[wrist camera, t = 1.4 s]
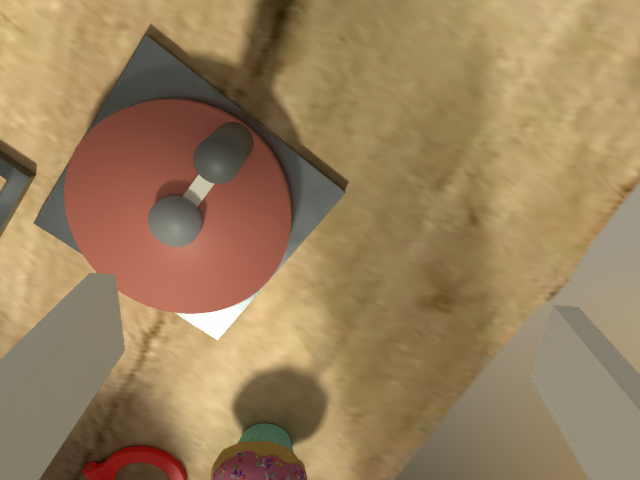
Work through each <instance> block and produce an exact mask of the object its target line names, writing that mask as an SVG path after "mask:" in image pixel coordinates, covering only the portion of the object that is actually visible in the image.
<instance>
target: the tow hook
mask: <svg viewBox="0 0 640 480" xmlns="http://www.w3.org/2000/svg"><path fill="white" fill-rule="evenodd" d="M138 462H142V463H149V464H152V465H155V466H157V467H159V468H161V469H162V470H163V471H164V472H165V473H166V474H167V476H168V477H169V480H186V474H185V470H184V469H183V467H182V465H181V464H180V462H179V461H177V460H176V459H175V458H174V457H173V456H172V455H170V454H168V453H166V452H164V451H162V450H159V449H156V448H153V447H144V446H135V447H128V448H124V449H121V450H118V451H117V452H115V453H113V454H112V455H110V457H109V458H108V459H107V460H106V461H105V462H103V463H99V464H97V463H96V462H95V461H93V462H90V463H88V464H87V465H86V466H85V467H84V468H83V471H82V472H83V474H84V475H85V476H86V478H87V479H88V480H114V479H115V478H116V475H117V472H118V470H119V469H120V468H122V467H123V466H125V465H127V464H131V463H138Z"/></svg>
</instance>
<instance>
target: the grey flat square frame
mask: <svg viewBox="0 0 640 480" xmlns="http://www.w3.org/2000/svg"><path fill="white" fill-rule="evenodd" d="M0 176H2V177H3V178H5V179H6V180H7V182H6V184H5V186H4V187H3V189H2V191H1V193H0V237H1V235H2V233H3V232H4V230H5V228H6V226H7V225H8V223H9V221H10V219H11V218H12V216H13V214H14V212H15V211H16V209H17V207H18V205H19V204H20V202H21V200H22V198H23V197H24V195H25V193H26V191H27V190H28V188H29V186H30V184H31V183H32V181H33V179H34V177H35V176H36V175H35V174H34V173H32V172H31V171H29V170H28V169H26V168H25V167H23V166H22V165H20V164H19V163H17V162H16V161H14V160H13V159H11V158H10V157H8V156H7V155H5V154H4V153H2V152H1V151H0Z"/></svg>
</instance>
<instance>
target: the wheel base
mask: <svg viewBox="0 0 640 480" xmlns="http://www.w3.org/2000/svg"><path fill="white" fill-rule="evenodd" d="M172 98H176V99H186V100H193V101H197V102H201V103H206V104H208V105H211V106H214V107H216V108H219V109H221V110H223V111H225V112H227V113H229V114H231V115H233V116H235V117H236V118H238V119H239V120H240V121H242V122H243V123H245V124H246V125H248V126H249V127H250V128H251V129H252V130H253V131H254V132H255V133H257V134H258V135H259V136H260V137H261V139H262V140H263V141H264V142H265V143H266V144H267V145H268V147H269V148H270V149H271V151H272V152H273V154H274V155H275V157H276V158H277V160H278V162H279V164H280V166H281V168H282V170H283V172H284V174H285V177H286V180H287V183H288V186H289V190H290V195H291V201H292V224H291V230H290V235H289V240H288V244H287V248H286V251H285V254H284V257H283V259H282V261H281V263H280V265H279V267H278V269H277V270H276V272H277V271H278V270H279V269H280V267H281V266H282V265H283V264H284V263H285V262H286V261H287V259H288V258H289V257H290V256H291V255H292V254H293V252H294V251H295V250H296V249H297V248H298V247H299V246H300V244H301V243H302V242H303V241H304V240H305V239H306V238H307V236H308V235H309V234H310V233H311V232H312V231H313V229H314V228H315V227H316V226H317V225H318V224H319V223H320V221H321V220H322V219H323V218H324V217H325V216H326V215H327V213H328V212H329V211H330V210H331V209H332V208H333V206H334V205H335V204H336V203H337V202H338V201H339V200H340V198H341V197H342V196H343V195H344V194H345V193H346V192H345V189H343V188H342V187H341V186H339V185H338V184H337V183H336V182H334V181H333V180H332V179H331V178H329V177H328V176H327V175H326V174H324V173H323V172H322V171H321V170H319V169H318V168H317V167H315V166H314V165H313V164H312V163H310V162H309V161H308V160H307V159H305V158H304V157H303V156H302V155H300V154H299V153H298V152H296V151H295V150H294V149H293V148H291V147H290V146H289V145H288V144H286V143H285V142H284V141H283V140H281V139H280V138H279V137H278V136H276V135H275V134H274V133H272V132H271V131H270V130H269V129H267V128H266V127H265V126H264V125H262V124H261V123H260V122H259V121H257V120H256V119H255V118H254V117H252V116H251V115H250V114H248V113H247V112H246V111H245V110H243V109H242V108H241V107H240V106H238V105H237V104H236V103H235V102H233V101H232V100H231V99H229V98H228V97H227V96H226V95H224V94H223V93H222V92H221V91H219V90H218V89H217V88H216V87H214V86H213V85H212V84H211V83H209V82H208V81H207V80H205V79H204V78H203V77H202V76H200V75H199V74H198V73H197V72H195V71H194V70H193V69H192V68H190V67H189V66H188V65H186V64H185V63H184V62H183V61H181V60H180V59H179V58H178V57H176V56H175V55H174V54H173V53H171V52H170V51H169V50H168V49H166V48H165V47H164V46H162V45H161V44H160V43H159V42H157V41H156V40H155V39H154V38H152V37H151V36H150V35H145V36H144V38H143V40H142V41H141V43H140V45H139V46H138V48H137V50H136V51H135V53H134V55H133V56H132V58H131V60H130V62H129V63H128V65H127V67H126V68H125V70H124V72H123V73H122V75H121V77H120V78H119V80H118V82H117V83H116V85H115V87H114V88H113V90H112V92H111V93H110V95H109V97H108V99H107V100H106V102H105V104H104V105H103V107H102V109H101V110H100V112H99V114H98V115H97V117H96V119H95V120H94V122H93V124H92V125H91V127H90V129H89V130H88V132H89V131H90V130H91V129H92V128H93V127H94V126H95V125H97V124H98V123H99V122H101V121H102V120H103V119H105V118H106V117H108V116H110V115H112V114H114V113H116V112H117V111H119V110H122V109H125V108H128V107H130V106H133V105H136V104H139V103H142V102H146V101H151V100H157V99H172ZM88 132H87V133H88ZM69 163H70V162H69ZM68 166H69V164H68ZM68 166H67V167H66V169H65V171H64V172H63V174H62V176H61V177H60V179H59V181H58V183H57V184H56V186H55V188H54V189H53V191H52V193H51V194H50V196H49V198H48V199H47V201H46V203H45V204H44V206H43V208H42V209H41V211H40V213H39V214H38V216H37V218H36V220H35V221H34V224H36V225H37V226H39V227H40V228H42V229H44V230H45V231H47V232H48V233H50V234H51V235H53V236H55V237H56V238H58V239H59V240H61V241H62V242H64V243H66V244H67V245H69V246H70V247H72V248H74V249H75V250H77V251H78V252H80V253H81V254H82V252H81V251H80V249H79V247H78V245H77V244H76V242H75V239H74V237H73V235H72V232H71V230H70V227H69V223H68V220H67V216H66V210H65V203H64V185H65V179H66V173H67V169H68ZM276 272H275V273H276ZM275 273H274V274H275ZM274 274H273V275H274ZM272 277H273V276H272ZM272 277H271V278H272ZM271 278H270V279H271ZM266 284H267V283H266ZM266 284H265V285H266ZM265 285H264V286H265ZM264 286H263V287H264ZM263 287H262V288H263ZM262 288H261V289H262ZM261 289H260V290H261ZM260 290H259V291H257V292H256V293H255V294H253V295H252V296H251V297H249V298H248V299H246V300H244V301H242V302H241V303H239V304H236V305H234V306H231V307H229V308H226V309H222V310H219V311H215V312H208V313H199V314H185V313H176V314H178V315H179V316H181V317H182V318H184V319H185V320H187V321H189V322H190V323H192V324H193V325H195V326H196V327H198V328H200V329H201V330H203V331H204V332H206V333H207V334H209V335H211V336H212V337H214V338H215V339H217V340H218V339H219V338H220V336H221V335H222V334H223V333H224V332H225V331H226V329H227V328H228V327H229V326H230V325H231V324H232V323H233V321H234V320H235V319H236V318H237V317H238V316H239V315H240V313H241V312H242V311H243V310H244V309H245V308H246V307H247V305H248V304H249V303H250V302H251V301H252V300H253V298H254V297H255V296H256V295H257V294H258V293H259V292H260Z"/></svg>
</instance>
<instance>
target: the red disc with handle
mask: <svg viewBox="0 0 640 480" xmlns="http://www.w3.org/2000/svg"><path fill="white" fill-rule="evenodd" d="M64 203H65V210H66V216H67V220H68V223H69V227H70V230H71V232H72V235H73V237H74V239H75V242H76V244H77V245H78V247H79V249H80V251H81V252H82V254H83V255H84V257H85V258H86V259H87V261H88V262H89V264H90V265H91V266H92V267H93V268H94V269H95V270H96V272H97V273H100V274H114V275H116V282H117V290H119V291H120V292H121V293H123V294H125V295H126V296H128V297H130V298H132V299H134V300H135V301H138V302H140V303H142V304H145V305H147V306H150V307H153V308H156V309H160V310H164V311H169V312H174V313H185V314H199V313H208V312H215V311H219V310H222V309H226V308H229V307H231V306H234V305H236V304H239V303H241V302H242V301H244V300H246V299H248V298H249V297H251V296H252V295H253V294H255V293H256V292H257V291H259V290H260V289H261V288H262V287H263V286H264V285H265V284H266V283H267V282H268V281H269V280H270V278H271V277H272V276H273V274H274V273H275V272H276V270H277V269H278V267H279V265H280V263H281V261H282V259H283V257H284V254H285V251H286V248H287V244H288V240H289V235H290V230H291V224H292V201H291V195H290V190H289V186H288V183H287V180H286V177H285V174H284V172H283V170H282V168H281V166H280V164H279V162H278V160H277V158H276V157H275V155H274V154H273V152H272V151H271V149H270V148H269V147H268V145H267V144H266V143H265V142H264V141H263V140H262V139H261V137H260V136H259V135H258V134H257V133H255V132H254V131H253V130H252V129H251V128H250V127H249V126H248V125H246V124H245V123H243V122H242V121H240V120H239V119H238V118H236V117H235V116H233V115H231V114H229V113H227V112H225V111H223V110H221V109H219V108H216V107H214V106H211V105H208V104H206V103H201V102H197V101H193V100H186V99H176V98H172V99H157V100H151V101H146V102H142V103H139V104H136V105H133V106H130V107H128V108H125V109H122V110H119V111H117V112H116V113H114V114H112V115H110V116H108V117H106V118H105V119H103V120H102V121H101V122H99V123H98V124H97V125H95V126H94V127H93V128H92V129H91V130H90V131H89V132H88V133H87V134H86V135H85V136H84V138H83V139H82V141H81V142H80V143H79V145H78V146H77V148H76V150H75V152H74V154H73V156H72V158H71V160H70V163H69V166H68V169H67V173H66V179H65V185H64Z"/></svg>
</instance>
